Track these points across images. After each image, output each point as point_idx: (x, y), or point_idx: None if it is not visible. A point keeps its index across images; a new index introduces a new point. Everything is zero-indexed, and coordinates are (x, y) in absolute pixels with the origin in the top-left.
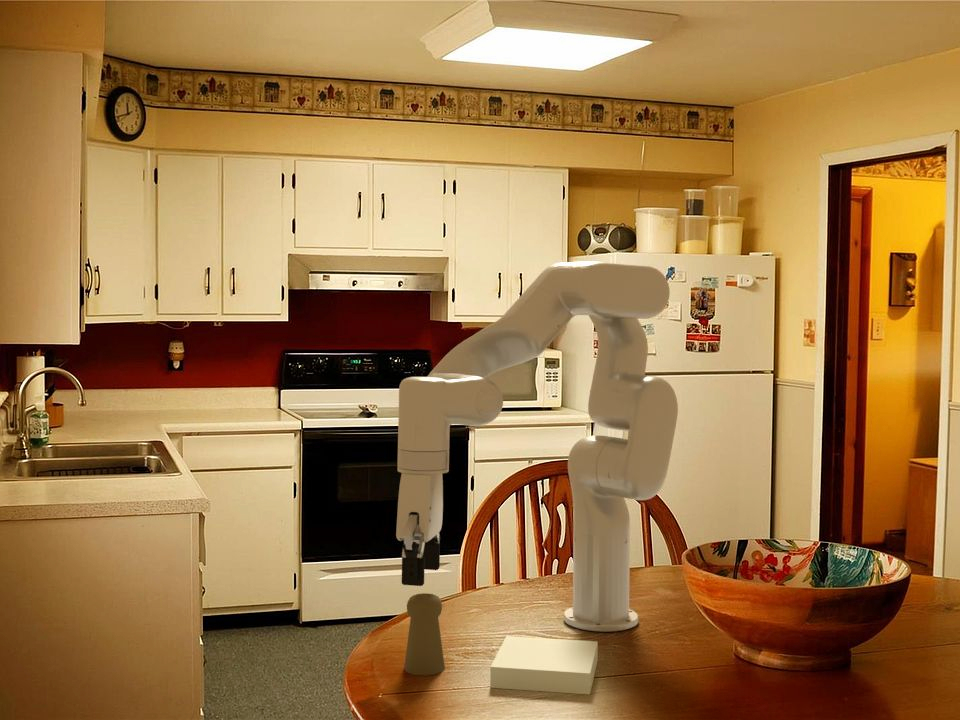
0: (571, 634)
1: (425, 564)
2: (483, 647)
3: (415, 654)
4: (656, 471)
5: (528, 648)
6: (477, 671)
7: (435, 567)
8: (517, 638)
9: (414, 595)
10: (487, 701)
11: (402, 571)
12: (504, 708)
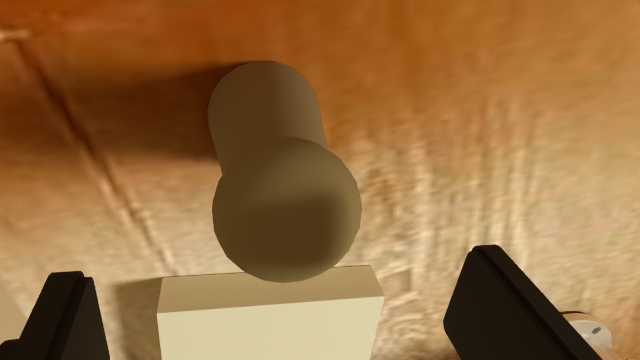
0: None
1: (473, 294)
2: (422, 215)
3: (215, 122)
4: None
5: (301, 347)
6: None
7: (449, 326)
8: (366, 317)
9: (302, 197)
10: None
11: (19, 346)
12: None
